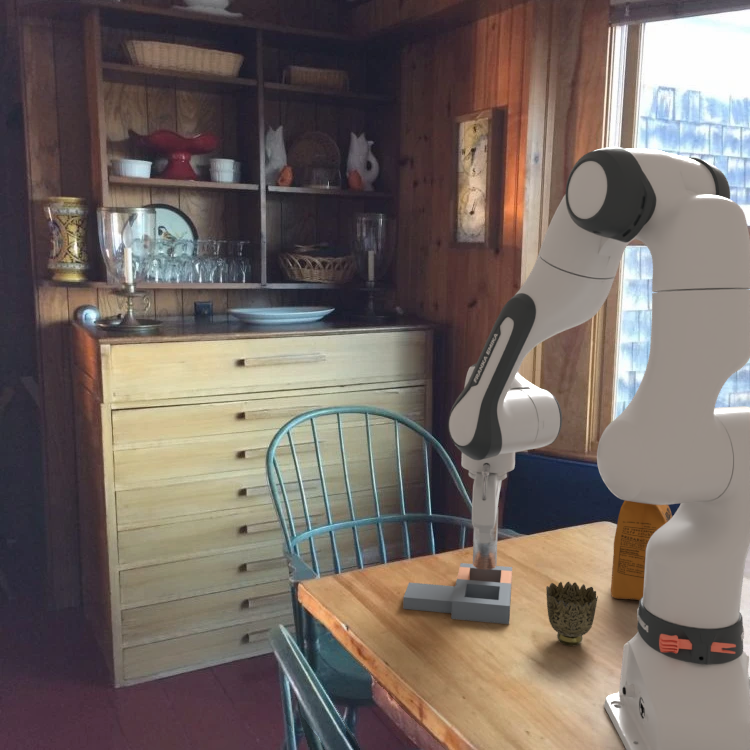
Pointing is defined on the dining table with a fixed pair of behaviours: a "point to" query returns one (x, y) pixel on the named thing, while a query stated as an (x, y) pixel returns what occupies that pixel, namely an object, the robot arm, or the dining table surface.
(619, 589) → the coffee package
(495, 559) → the peg
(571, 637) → the cup
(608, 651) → the dining table surface
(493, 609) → the rack
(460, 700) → the dining table surface
